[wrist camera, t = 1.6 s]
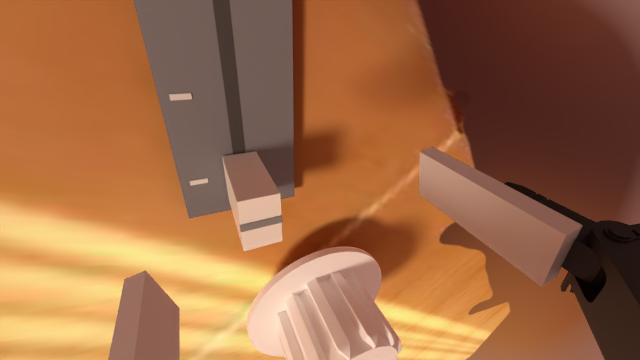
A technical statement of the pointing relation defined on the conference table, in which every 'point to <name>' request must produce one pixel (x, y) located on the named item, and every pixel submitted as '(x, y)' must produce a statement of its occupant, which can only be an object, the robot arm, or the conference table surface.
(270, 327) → the ribbed cylinder on disc
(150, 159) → the conference table surface
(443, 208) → the robot arm
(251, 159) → the fader tab
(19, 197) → the conference table surface
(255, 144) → the fader console
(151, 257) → the conference table surface
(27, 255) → the conference table surface
